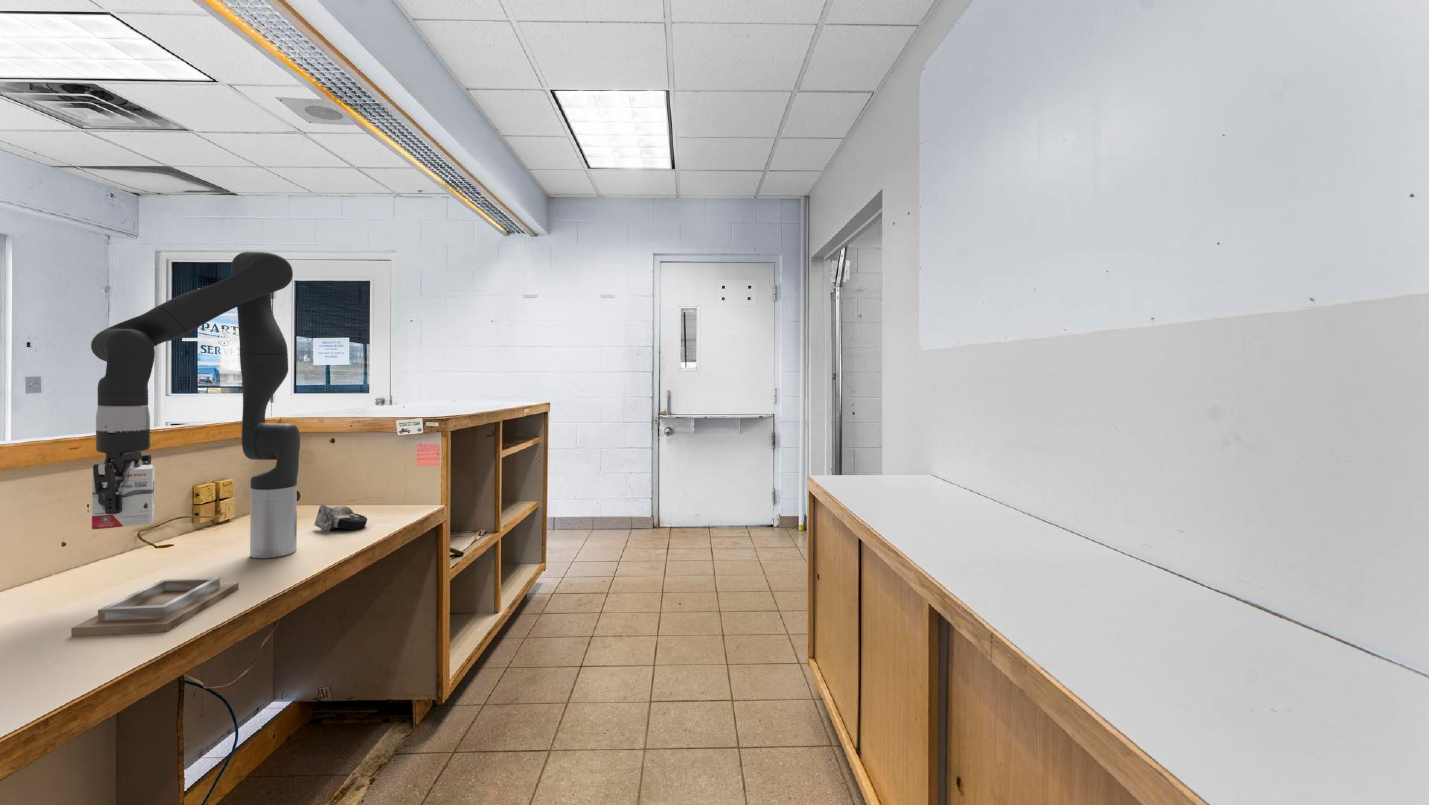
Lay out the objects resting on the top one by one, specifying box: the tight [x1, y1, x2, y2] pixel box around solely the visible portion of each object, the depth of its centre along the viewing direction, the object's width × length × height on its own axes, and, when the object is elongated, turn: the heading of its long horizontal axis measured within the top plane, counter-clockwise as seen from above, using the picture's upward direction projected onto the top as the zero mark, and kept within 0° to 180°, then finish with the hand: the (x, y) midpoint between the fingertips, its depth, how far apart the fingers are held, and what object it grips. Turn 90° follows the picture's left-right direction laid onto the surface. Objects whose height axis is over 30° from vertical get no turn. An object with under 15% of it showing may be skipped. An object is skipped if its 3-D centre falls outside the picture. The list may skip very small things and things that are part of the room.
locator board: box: [70, 577, 240, 637], centre depth 107 cm, size 20×14×4 cm
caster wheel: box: [313, 503, 368, 533], centre depth 165 cm, size 7×11×10 cm
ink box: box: [91, 464, 156, 530], centre depth 112 cm, size 9×5×12 cm, turn 132°
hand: (124, 509), depth 113 cm, fingers closed on ink box, 6 cm apart
